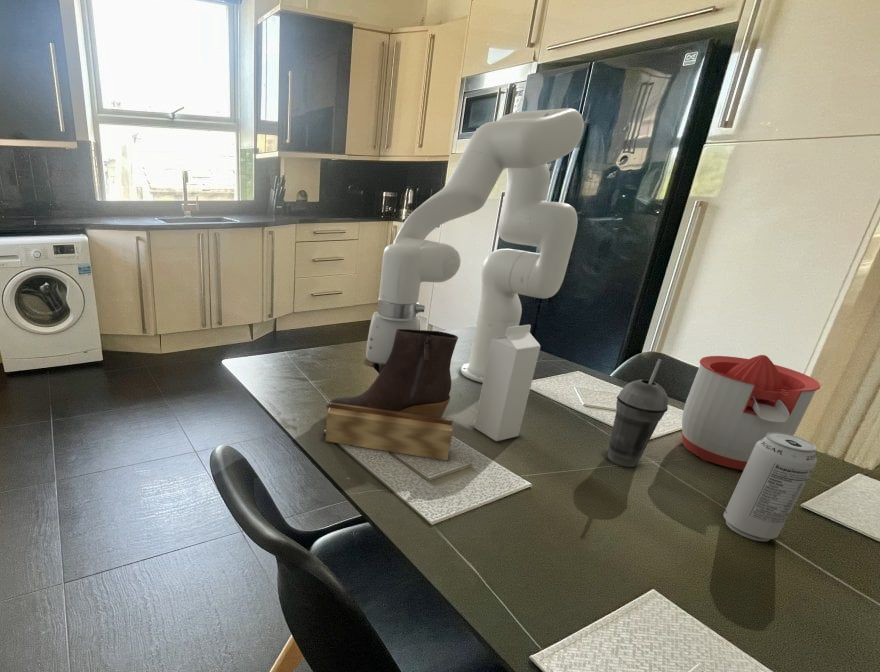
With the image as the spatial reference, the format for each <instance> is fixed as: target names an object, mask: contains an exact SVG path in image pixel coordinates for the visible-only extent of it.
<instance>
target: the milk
mask: <svg viewBox="0 0 880 672" xmlns="http://www.w3.org/2000/svg"><path fill="white" fill-rule="evenodd" d="M531 328H532V325H531V324H523V325H519V326H515V327H508V328H507V331H506V335H505V336H501V337H498V338H495V339H492V340H491V345H490V350H489V355H488V360H487V365H486V370H485V375H484V379H483V383H482V385H481V389H480V395H479V400H478V405H477V410H476V415H475V420H474V425H473V428H474V429H476V430H477V431H479V432H481V434H483V435H485V436H487V437H488V438H490V439H492V440H493V441H495V442H499V441H504V440H507V439H511V438H516V437H519V436H520V432H521V428H522V425H523V419H524V416H525V412H526V409H527V403H528V400H529V395H530V392H531V387H532V383H533V378H534V375H535V371H536V367H537V362H538V360H539V355H540V351H541V344H540V343H539V341H537V339H536V338H535V337H534V336H533V335H532V333H531Z"/></svg>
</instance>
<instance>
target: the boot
mask: <svg viewBox="0 0 880 672" xmlns="http://www.w3.org/2000/svg"><path fill="white" fill-rule="evenodd" d="M458 339H459V336H458V335H456V334H452V333H449V332H444V331H439V330H426V329H425V330H424V329H420V330H410V329H397V331H396V335H395V340H394V344H393V348H392V351H391V353H390V356H389V358H388V360H387V362H386V364H385V366H384V368H383V369H382V371H381V372H380V374H379V373H378V375H377V377H376V379H375V380H374V381H373V382H372V384H370V386H369V387H368V389H366V391H364V392H362V393H361V394H359V395H356V396H344V397H343V396H342V397H333V398H332V399H331V400H330V401H329V402H328V403H327V404H326V405H325V410H324V411H325V413H326V415H327V413H328V410H329V408H330V402H332V403H339V404H346V405H353V406H361V407H368V408H375V409H382V410H389V411H396V412H403V413H411V414H418V415H425V416H432V417H439V418H443V415H444V413H445V411H446V408H447V407H448V405H449V403H450V400H451V395H450V394H451V390H452V375H451V364H452V358H453V354H454V351H455V348H456V345H457V343H458Z"/></svg>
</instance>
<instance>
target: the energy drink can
mask: <svg viewBox="0 0 880 672" xmlns="http://www.w3.org/2000/svg"><path fill="white" fill-rule="evenodd" d="M816 450H817V446H816V445H815V444H814V443H812V442H810V441H809V440H807V439H804V438H803V437H800V436H796V435H789V434H785V433H779V432H770V433H767V435H766V437H765V438H763V439H761V440H759V441H758V442H757V443H756V445H755V447H754V449H753V451H752V453H751V456H750V458H749V460H748V462H747V464H746V466H745V469H744V470H742V473H741V475H740V478H739V480H738V482H737V484H736V486H735V488H734V491H733V493H732V495H731V497H730V499H729V501H728V504H727V506H726V508H725V510H724V512H723V518H724V520H725V524H726V526H727V527H728V528H729V529H730V530H732V531H733V532H734V533H736V534H738V535H740V536H742V537H744V538H746V539H749V540H753V541H757V542H768V541H770V540H771V539H776V538H778V537H779V535H780V534H781V531H782V530H783V527H784V526H785V523H786V522H787V520H788V518H789V516H790V514H791V512H792V510H793V508H794V506H795V505H796V503H797V501H798V499H799V497H800V495H801V493H802V491H803V489H804V488H805V485H806V483H807V482H808V480H809V478H810V476H811V474H812V472H813V470H814V468H815V466H816V464H817V463H818V459H817V455H816V452H815V451H816Z"/></svg>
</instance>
